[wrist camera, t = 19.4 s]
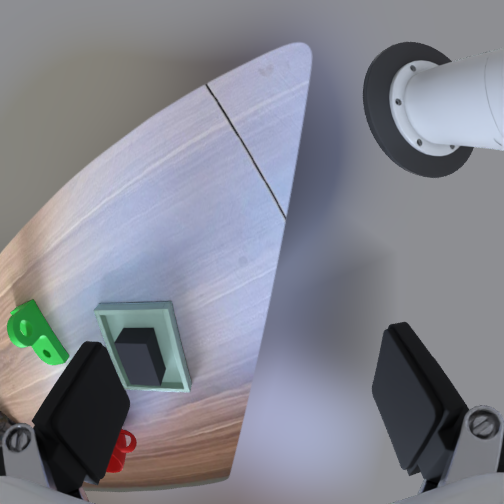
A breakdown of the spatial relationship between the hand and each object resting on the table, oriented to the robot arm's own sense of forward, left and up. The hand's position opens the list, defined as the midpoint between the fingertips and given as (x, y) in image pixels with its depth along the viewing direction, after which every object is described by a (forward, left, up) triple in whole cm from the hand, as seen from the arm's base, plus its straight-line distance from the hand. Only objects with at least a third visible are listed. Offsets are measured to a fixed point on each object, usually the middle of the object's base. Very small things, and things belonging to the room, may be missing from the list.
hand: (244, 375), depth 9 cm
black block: (+17, +20, -27) cm, 38 cm away
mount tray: (+17, +20, -28) cm, 38 cm away
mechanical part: (+38, +18, -28) cm, 50 cm away
